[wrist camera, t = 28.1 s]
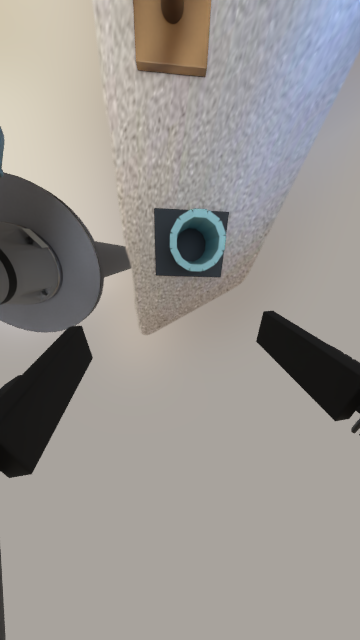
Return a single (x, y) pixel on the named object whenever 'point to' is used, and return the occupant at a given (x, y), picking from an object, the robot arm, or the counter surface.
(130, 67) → the counter surface
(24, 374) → the robot arm
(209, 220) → the planter pot
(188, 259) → the mat
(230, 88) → the counter surface
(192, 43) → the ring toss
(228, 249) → the counter surface
